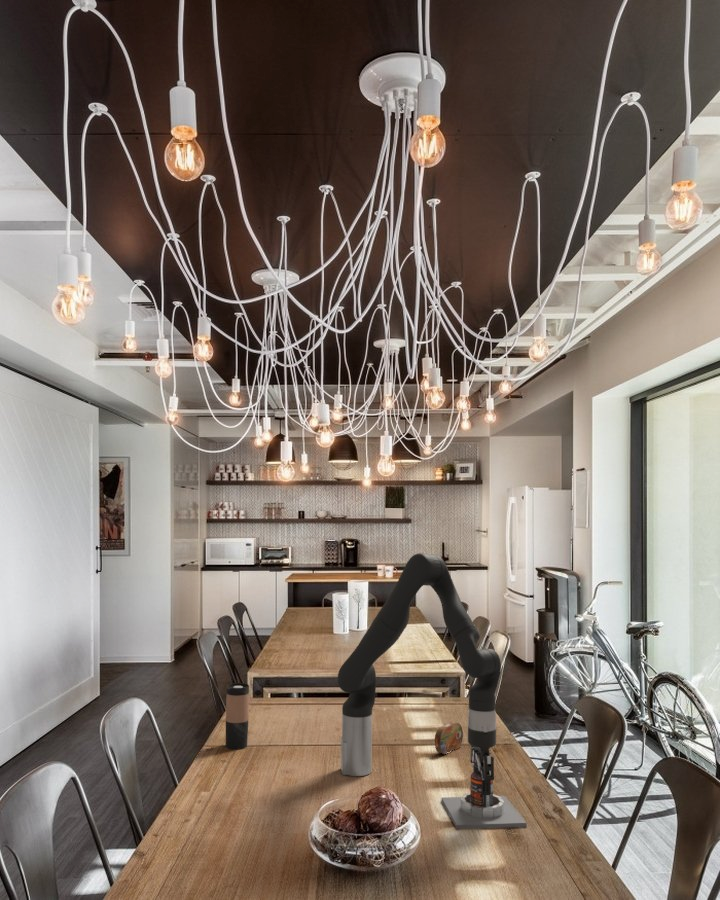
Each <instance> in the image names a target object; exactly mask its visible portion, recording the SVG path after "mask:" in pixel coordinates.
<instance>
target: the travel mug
mask: <svg viewBox="0 0 720 900" xmlns="http://www.w3.org/2000/svg"><path fill="white" fill-rule="evenodd" d="M225 700H226V701H225V702H226V703H225V704H226V705H225V749H229V750H243V749H245V748H247V746H248V738H249V737H248V736H249V716H250V715H249V713H250V712H249V711H250V685H249V684H247V683H243V682H241V683H240V682H236V683H230V684H227V685H226V699H225Z"/></svg>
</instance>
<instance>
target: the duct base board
mask: <svg viewBox="0 0 720 900" xmlns="http://www.w3.org/2000/svg"><path fill="white" fill-rule="evenodd" d="M498 796H499V797H501V798H502V799H503V801H504V812H503V814H502V815H501V816H498V817H495V818H478V817H472V816H470V815H467V814H465V813H463V811H462V810H461V797H462V796H450V797H441V800H440V801H441V803H442V804H443V807H444V808H445V810H446V812H447V814H448V815H449V817H450V819H451V821H452V823H453V824H454V826H455V828H456V830H470V829H471V830H473V829H475V830H477V829H504V828H527V826H528V825H527V824H528V823H527V822H526V820H525V819H524V818H523V817H522V815H521V814H520V812H519V811H518V810H517V809H516V807H514V805H513V804H512V802H510V800H509V798H507V796H506V795H498Z"/></svg>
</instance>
